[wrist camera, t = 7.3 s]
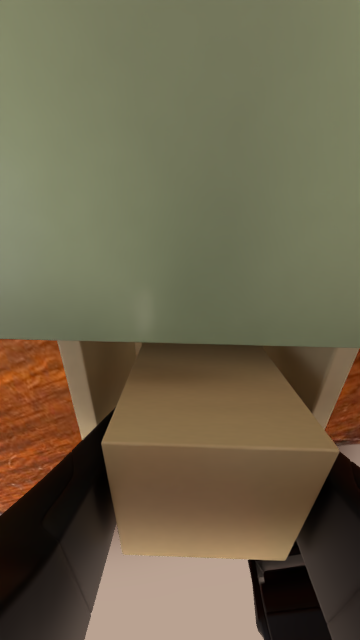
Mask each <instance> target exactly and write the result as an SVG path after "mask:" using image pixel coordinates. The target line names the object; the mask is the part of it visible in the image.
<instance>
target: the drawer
mask: <svg viewBox="0 0 360 640" xmlns="http://www.w3.org/2000/svg"><path fill="white" fill-rule="evenodd" d="M57 341H58V345H59V349H60V353H61V357H62V361H63V365H64V369H65V373H66V377H67V381H68V385H69V389H70V393H71V397H72V401H73V405H74V409H75V413H76V417H77V421H78V425H79V429H80V433H81V437H82V440H83V439H84V438H85V437H86V436H87V435H88V434H89V433H90V432H91V431H92V430H93V429H94V428H95V427H96V426H97V425H98V424H99V423H100V422H101V421H102V420H103V419H104V418H105V417H106V416H107V415H108V414H109V413H110V412H111V411H112V410H113V409H114V408H115V407H116V406H117V404H118V401H119V399H120V396H121V394H122V391H123V389H124V387H125V384H126V382H127V379H128V377H129V375H130V372H131V370H132V367H133V365H134V363H135V360H136V358H137V355H138V353H139V351H140V348H141V346H142V342H104V341H65V340H57ZM261 347H262V348H263V349H264V351H265V352H266V353H267V355H268V356H269V357H270V359H271V360H272V361H273V363H274V364H275V365H276V367H277V368H278V369H279V371H280V372H281V373H282V375H283V376H284V377H285V379H286V380H287V381H288V383H289V384H290V385H291V386H292V388H293V389H294V390H295V392H296V393H297V394H298V396H299V397H300V398H301V400H302V401H303V402H304V404H305V405H306V406H307V408H308V409H309V410H310V412H311V413H312V414H313V416H314V417H315V418H316V420H317V421H318V422H319V424H320V425H321V426H322V428H323V429H324V430H325V427H326V425H327V422H328V420H329V418H330V415H331V413H332V411H333V408H334V406H335V404H336V401H337V399H338V397H339V394H340V392H341V390H342V387H343V385H344V383H345V380H346V378H347V376H348V373H349V371H350V369H351V366H352V364H353V362H354V359H355V357H356V355H357V352H358V350H359V348H334V347H296V346H261Z"/></svg>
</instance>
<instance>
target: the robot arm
mask: <svg viewBox="0 0 360 640" xmlns="http://www.w3.org/2000/svg"><path fill="white" fill-rule="evenodd" d="M115 408H116V407H115ZM115 408H114V409H113V410H112V411H111V412H110V413H109V414H108V415H107V416H106V417H105V418H104V419H103V420H102V421H101V422H100V423H99V424H98V425H97V426H96V427H95V428H94V429H93V430H92V431H91V432H90V433H89V434H88V435H87V436H86V437H85V438H84V439H83V440H82V441H81V442H80V443H79V444H78V445H77V446H76V447H75V448H74V449H73V450H72V452H70V453H69V454H68V455H67V456H66V457H65V458H64V459H63V460H62V461H61V462H60V463H59V464H58V465H57V466H56V467H55V468H53V469H52V470H51V471H50V472H49V473H48V474H47V475H46V476H45V477H44V478H43V479H42V480H41V481H40V482H38V483H37V484H36V485H35V486H34V487H33V488H32V489H31V490H29V491H28V492H27V493H26V494H25V495H24V496H23V497H21V498H20V499H19V500H18V501H17V502H16V503H14V504H13V505H12V506H11V507H10V508H9V509H8V510H6V511H5V512H4V513H3V514H2V515H1V516H0V640H84V639H85V635H86V631H87V628H88V624H89V621H90V617H91V614H90V613H91V612H92V610H93V606H94V602H95V599H96V595H97V591H98V588H99V584H100V581H101V577H102V573H103V570H104V566H105V563H106V559H107V555H108V552H109V548H110V544H111V541H112V537H113V533H114V530H115V526H116V523H117V522H116V517H115V512H114V507H113V502H112V497H111V491H110V486H109V481H108V476H107V471H106V466H105V460H104V455H103V450H102V445H101V442H102V440H103V437H104V435H105V432H106V430H107V428H108V425H109V423H110V420H111V418H112V416H113V413H114V411H115ZM248 563H249V568H250V572H251V578H252V584H253V594H254V605H255V615H256V624H257V628H258V631H259V633H260V634H261V635H262V637H263V638H264V640H360V467H358V466H357V465H356V464H355V463H353V462H350V459H348V458H347V457H346V456H345V455H343V454H342V453H341V452H340V451H339V454H338V456H337V458H336V460H335V462H334V464H333V466H332V468H331V470H330V472H329V474H328V476H327V478H326V480H325V482H324V484H323V486H322V488H321V490H320V492H319V494H318V496H317V498H316V500H315V502H314V504H313V506H312V508H311V510H310V512H309V514H308V516H307V518H306V520H305V522H304V524H303V526H302V528H301V530H300V532H299V534H298V536H297V538H296V540H295V542H294V544H293V546H292V548H291V550H290V552H289V554H288V556H287V558H286V560H285V561H278V560H252V559H249V560H248Z"/></svg>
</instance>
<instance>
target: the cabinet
mask: <svg viewBox="0 0 360 640" xmlns="http://www.w3.org/2000/svg"><path fill="white" fill-rule="evenodd" d="M0 339H27V340H65V341H104V342H142V343H180V344H219V345H257V346H296V347H334V348H360V0H0Z"/></svg>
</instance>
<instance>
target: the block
mask: <svg viewBox="0 0 360 640" xmlns="http://www.w3.org/2000/svg"><path fill="white" fill-rule="evenodd" d="M101 445H102V450H103V455H104V460H105V466H106V471H107V476H108V481H109V486H110V491H111V497H112V502H113V507H114V512H115V517H116V522H117V527H118V533H119V537H120V543H121V548H122V552H123V554H125V555H149V556H177V557H201V558H226V559H252V560H278V561H285V560H286V558H287V556H288V554H289V552H290V550H291V548H292V546H293V544H294V542H295V540H296V538H297V536H298V534H299V532H300V530H301V528H302V526H303V524H304V522H305V520H306V518H307V516H308V514H309V512H310V510H311V508H312V506H313V504H314V502H315V500H316V498H317V496H318V494H319V492H320V490H321V488H322V486H323V484H324V482H325V480H326V478H327V476H328V474H329V472H330V470H331V468H332V466H333V464H334V462H335V460H336V458H337V456H338V454H339V449H338V447H337V446H336V445H335V443H334V442H333V441H332V439H331V438H330V437H329V436H328V434H327V433H326V432H325V430H324V429H323V428H322V426H321V425H320V424H319V422H318V421H317V420H316V418H315V417H314V416H313V414H312V413H311V412H310V410H309V409H308V408H307V406H306V405H305V404H304V402H303V401H302V400H301V398H300V397H299V396H298V394H297V393H296V392H295V390H294V389H293V388H292V386H291V385H290V384H289V383H288V381H287V380H286V379H285V377H284V376H283V375H282V373H281V372H280V371H279V369H278V368H277V367H276V365H275V364H274V363H273V361H272V360H271V359H270V357H269V356H268V355H267V353H266V352H265V351H264V349H263V348H262V347H261V346H257V345H219V344H180V343H142V346H141V348H140V351H139V353H138V355H137V358H136V360H135V363H134V365H133V367H132V370H131V372H130V375H129V377H128V379H127V382H126V384H125V387H124V389H123V391H122V394H121V396H120V399H119V401H118V404H117V406H116V408H115V411H114V413H113V416H112V418H111V420H110V423H109V425H108V428H107V430H106V432H105V435H104V437H103V440H102V442H101Z"/></svg>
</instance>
